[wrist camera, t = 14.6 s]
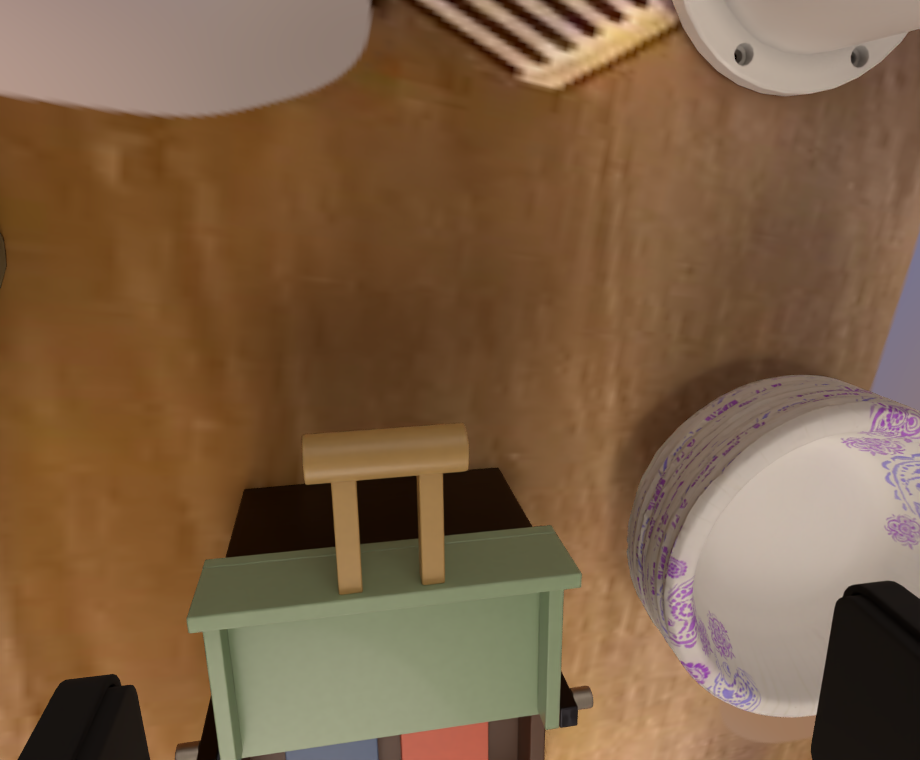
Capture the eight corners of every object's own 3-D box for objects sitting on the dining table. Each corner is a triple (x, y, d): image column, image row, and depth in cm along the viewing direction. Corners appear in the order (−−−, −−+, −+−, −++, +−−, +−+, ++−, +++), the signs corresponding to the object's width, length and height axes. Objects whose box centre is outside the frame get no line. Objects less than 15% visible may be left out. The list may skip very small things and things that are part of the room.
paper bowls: (542, 535, 35) (599, 631, 28) (737, 296, 34) (854, 331, 26) (736, 662, 40) (830, 774, 32) (916, 459, 38) (1059, 527, 31)
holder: (530, 624, 37) (547, 661, 34) (527, 796, 40) (542, 844, 37) (224, 662, 34) (215, 706, 31) (247, 843, 37) (241, 898, 35)
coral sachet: (488, 790, 38) (485, 778, 38) (488, 707, 36) (485, 696, 37) (403, 804, 37) (402, 792, 38) (400, 719, 35) (398, 708, 36)
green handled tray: (555, 390, 26) (590, 423, 22) (546, 703, 30) (574, 772, 27) (186, 415, 24) (161, 455, 20) (230, 749, 28) (215, 831, 24)
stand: (549, 462, 34) (608, 538, 27) (545, 616, 37) (597, 722, 30) (184, 493, 31) (141, 587, 24) (206, 658, 34) (173, 787, 27)
